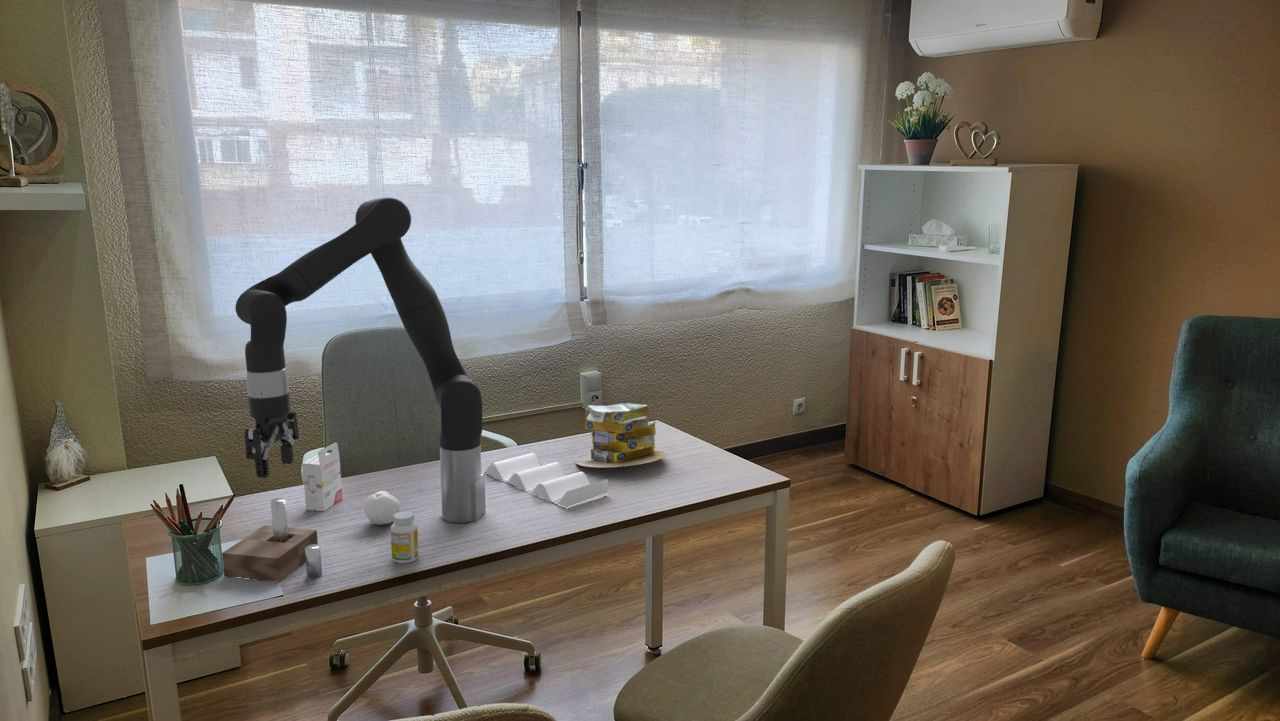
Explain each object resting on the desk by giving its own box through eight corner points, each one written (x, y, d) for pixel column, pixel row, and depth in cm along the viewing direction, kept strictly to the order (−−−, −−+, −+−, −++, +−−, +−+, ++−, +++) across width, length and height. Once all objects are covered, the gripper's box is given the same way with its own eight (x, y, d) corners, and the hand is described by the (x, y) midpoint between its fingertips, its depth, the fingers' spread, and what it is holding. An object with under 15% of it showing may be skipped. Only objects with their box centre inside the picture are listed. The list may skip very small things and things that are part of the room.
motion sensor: (406, 518, 201) (404, 486, 199) (391, 531, 194) (390, 498, 192) (373, 516, 202) (372, 484, 201) (358, 528, 195) (356, 496, 193)
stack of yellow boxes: (560, 458, 245) (559, 401, 241) (635, 445, 258) (636, 390, 254) (603, 485, 224) (603, 422, 221) (682, 468, 237) (684, 409, 234)
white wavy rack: (523, 464, 241) (523, 446, 240) (607, 498, 216) (607, 479, 215) (483, 475, 232) (483, 456, 231) (566, 512, 208) (566, 491, 207)
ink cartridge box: (324, 497, 214) (320, 439, 210) (343, 499, 213) (339, 441, 210) (304, 510, 205) (300, 450, 202) (323, 512, 204) (319, 452, 201)
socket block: (318, 552, 183) (316, 530, 182) (279, 582, 169) (277, 558, 168) (266, 547, 185) (264, 525, 184) (224, 576, 171) (221, 553, 170)
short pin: (324, 573, 173) (322, 545, 172) (317, 579, 171) (315, 550, 169) (311, 571, 174) (309, 543, 172) (304, 578, 171) (302, 549, 170)
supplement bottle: (401, 566, 177) (399, 522, 175) (386, 558, 180) (384, 515, 178) (424, 557, 181) (422, 514, 179) (408, 550, 184) (406, 507, 182)
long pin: (293, 557, 180) (288, 498, 177) (285, 563, 177) (280, 503, 174) (280, 556, 180) (275, 497, 178) (272, 562, 178) (267, 502, 175)
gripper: (264, 401, 164) (272, 483, 167) (305, 383, 177) (312, 459, 181) (228, 399, 165) (236, 481, 168) (272, 382, 178) (279, 457, 182)
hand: (275, 469), depth 174 cm, fingers open, 8 cm apart
